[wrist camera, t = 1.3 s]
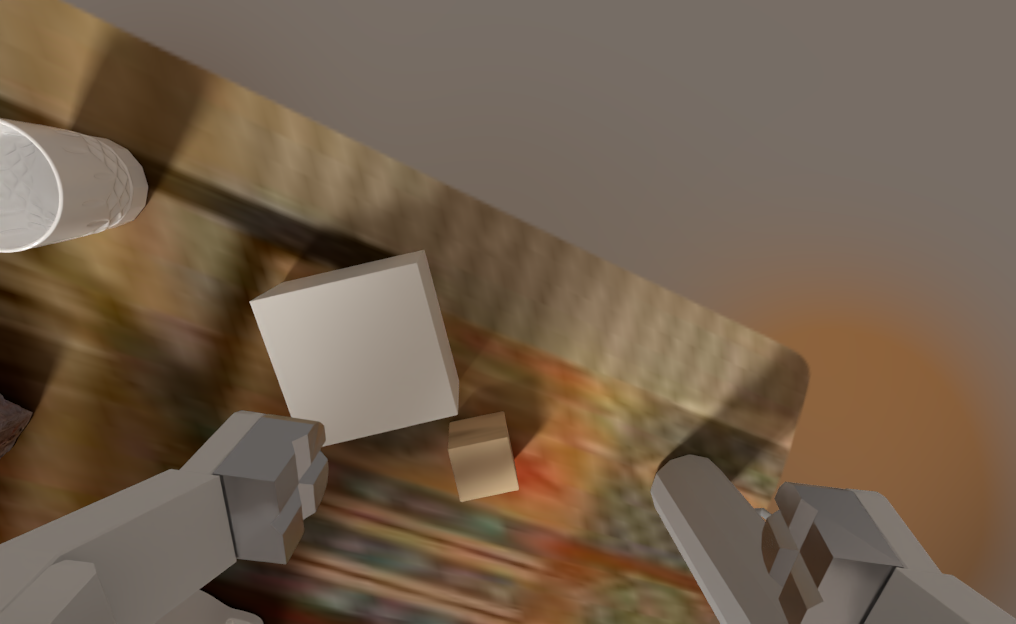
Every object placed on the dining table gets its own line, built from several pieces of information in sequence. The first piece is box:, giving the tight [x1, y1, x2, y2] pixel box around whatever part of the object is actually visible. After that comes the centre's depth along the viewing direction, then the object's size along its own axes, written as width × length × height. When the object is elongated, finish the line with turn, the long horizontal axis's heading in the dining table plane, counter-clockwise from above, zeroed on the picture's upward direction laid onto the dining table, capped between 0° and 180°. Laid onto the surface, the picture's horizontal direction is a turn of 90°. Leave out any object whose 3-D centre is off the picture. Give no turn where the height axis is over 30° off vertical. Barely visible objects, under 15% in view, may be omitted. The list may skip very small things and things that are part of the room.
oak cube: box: [448, 411, 519, 502], centre depth 46 cm, size 5×5×5 cm
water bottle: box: [651, 454, 788, 624], centre depth 39 cm, size 9×8×25 cm
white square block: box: [250, 250, 459, 447], centre depth 42 cm, size 12×12×7 cm
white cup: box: [0, 118, 148, 252], centre depth 36 cm, size 8×8×10 cm
